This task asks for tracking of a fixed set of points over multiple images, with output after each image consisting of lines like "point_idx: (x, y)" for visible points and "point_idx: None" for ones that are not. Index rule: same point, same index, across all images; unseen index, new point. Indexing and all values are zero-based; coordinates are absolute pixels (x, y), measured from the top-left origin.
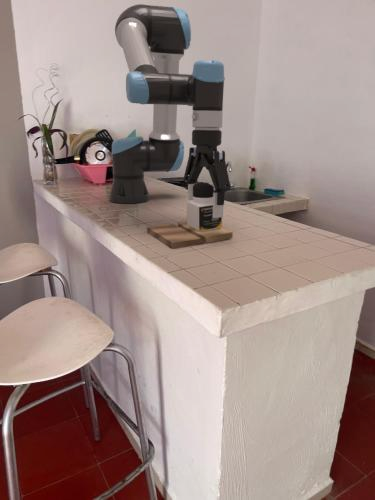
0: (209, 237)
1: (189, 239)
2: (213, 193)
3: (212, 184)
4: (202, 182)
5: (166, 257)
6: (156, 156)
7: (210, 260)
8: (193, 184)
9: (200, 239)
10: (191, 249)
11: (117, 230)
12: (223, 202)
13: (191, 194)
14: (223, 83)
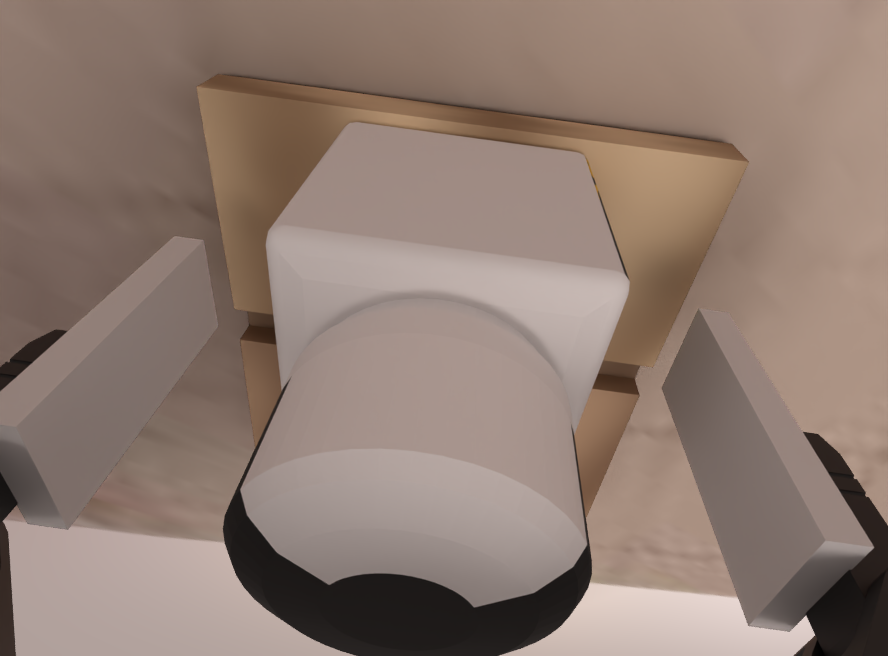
0: (660, 345)
1: (601, 443)
2: (741, 605)
3: (522, 564)
4: (266, 566)
5: (650, 546)
6: None
7: None
8: (47, 482)
9: (636, 394)
10: (655, 443)
11: (191, 514)
12: (840, 469)
13: (144, 397)
14: None
